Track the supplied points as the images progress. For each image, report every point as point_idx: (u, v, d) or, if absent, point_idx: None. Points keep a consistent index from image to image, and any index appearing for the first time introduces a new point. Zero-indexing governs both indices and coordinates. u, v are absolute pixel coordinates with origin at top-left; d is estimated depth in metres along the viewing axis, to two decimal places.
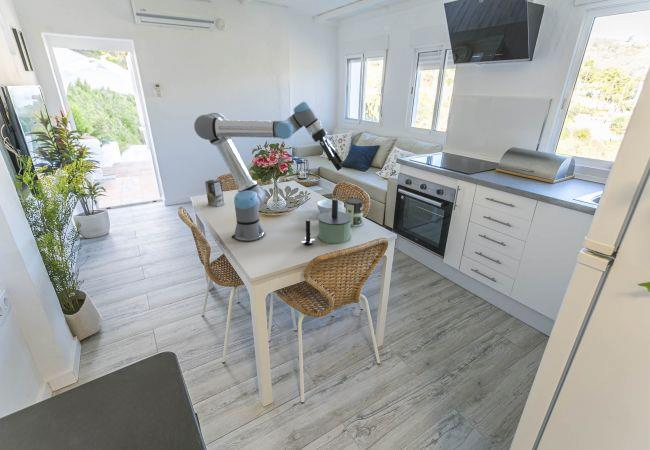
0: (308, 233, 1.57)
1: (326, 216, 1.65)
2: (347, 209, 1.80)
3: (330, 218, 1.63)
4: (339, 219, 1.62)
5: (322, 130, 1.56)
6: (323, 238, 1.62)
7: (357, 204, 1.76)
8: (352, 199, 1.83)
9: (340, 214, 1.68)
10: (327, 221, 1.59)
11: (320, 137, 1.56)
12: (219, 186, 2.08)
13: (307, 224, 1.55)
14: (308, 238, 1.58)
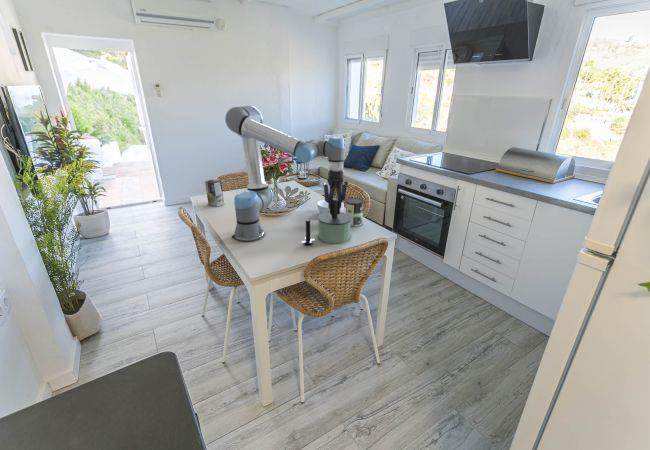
0: (308, 233, 1.57)
1: (326, 216, 1.65)
2: (347, 209, 1.80)
3: (330, 218, 1.63)
4: (339, 219, 1.62)
5: (334, 173, 1.51)
6: (323, 238, 1.62)
7: (357, 204, 1.76)
8: (352, 199, 1.83)
9: (340, 214, 1.68)
10: (327, 221, 1.59)
11: (329, 176, 1.54)
12: (219, 186, 2.08)
13: (307, 224, 1.55)
14: (308, 238, 1.58)
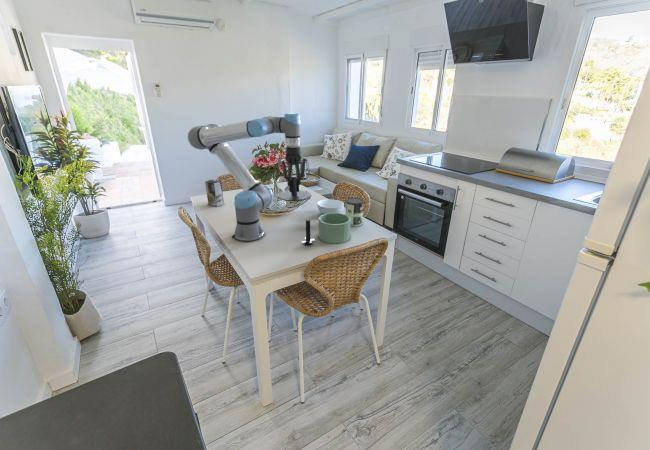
0: (308, 233, 1.57)
1: (286, 194, 1.67)
2: (347, 209, 1.80)
3: (289, 195, 1.64)
4: (298, 196, 1.63)
5: (290, 149, 1.53)
6: (323, 238, 1.62)
7: (357, 204, 1.76)
8: (352, 199, 1.83)
9: (301, 192, 1.70)
10: (285, 198, 1.61)
11: (286, 153, 1.55)
12: (219, 186, 2.08)
13: (307, 224, 1.55)
14: (308, 238, 1.58)
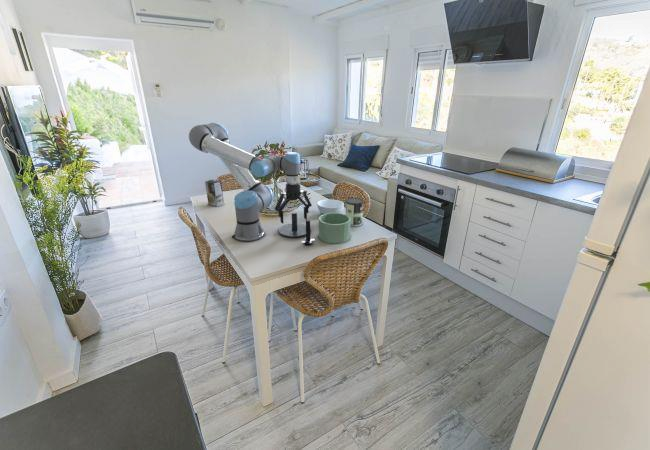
0: (308, 233, 1.57)
1: (287, 228, 1.75)
2: (347, 209, 1.80)
3: (290, 230, 1.72)
4: (299, 231, 1.71)
5: (290, 186, 1.60)
6: (323, 238, 1.62)
7: (357, 204, 1.76)
8: (352, 199, 1.83)
9: (301, 226, 1.78)
10: (286, 233, 1.69)
11: (286, 189, 1.63)
12: (219, 186, 2.08)
13: (307, 224, 1.55)
14: (308, 238, 1.58)
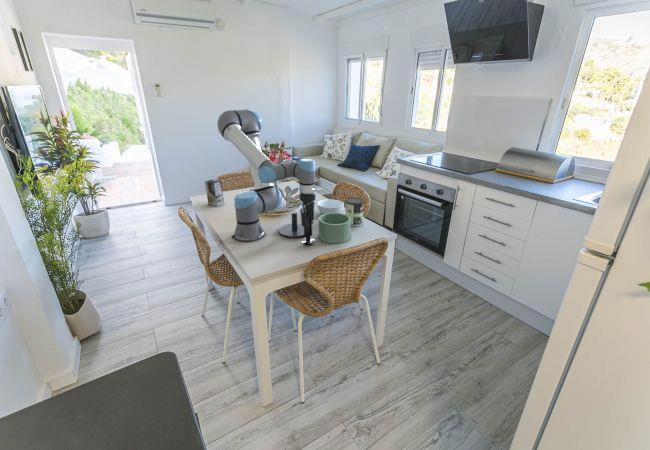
0: None
1: (287, 228, 1.75)
2: (347, 209, 1.80)
3: (290, 230, 1.72)
4: (299, 231, 1.71)
5: (311, 196, 1.47)
6: (323, 238, 1.62)
7: (357, 204, 1.76)
8: (352, 199, 1.83)
9: (301, 226, 1.78)
10: (286, 233, 1.69)
11: (305, 200, 1.48)
12: (219, 186, 2.08)
13: None
14: (308, 238, 1.58)
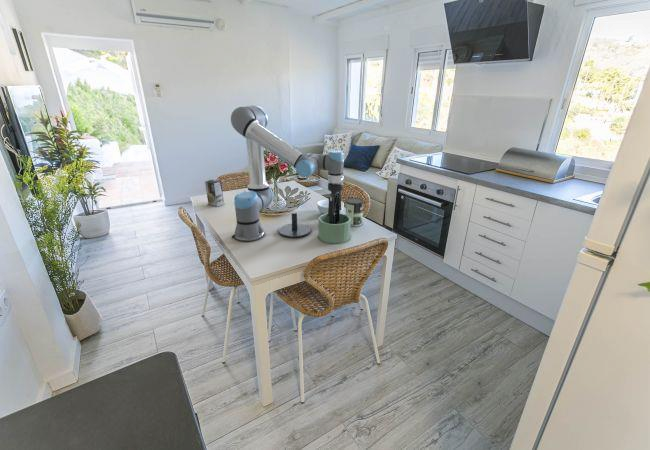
0: None
1: (287, 228, 1.75)
2: (347, 209, 1.80)
3: (290, 230, 1.72)
4: (299, 231, 1.71)
5: (339, 186, 1.54)
6: (323, 238, 1.62)
7: (357, 204, 1.76)
8: (352, 199, 1.83)
9: (301, 226, 1.78)
10: (286, 233, 1.69)
11: (333, 190, 1.55)
12: (219, 186, 2.08)
13: None
14: None
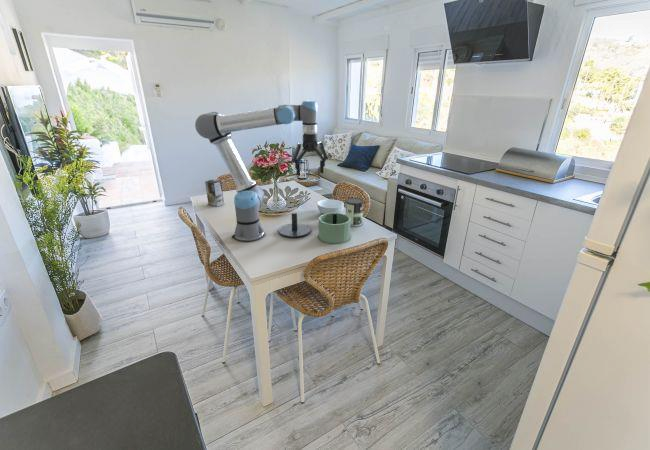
0: None
1: (287, 228, 1.75)
2: (347, 209, 1.80)
3: (290, 230, 1.72)
4: (299, 231, 1.71)
5: (308, 136, 1.58)
6: (323, 238, 1.62)
7: (357, 204, 1.76)
8: (352, 199, 1.83)
9: (301, 226, 1.78)
10: (286, 233, 1.69)
11: (303, 139, 1.60)
12: (219, 186, 2.08)
13: (334, 216, 1.63)
14: None
